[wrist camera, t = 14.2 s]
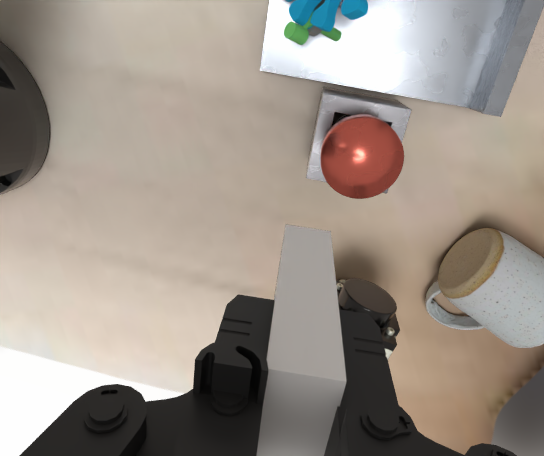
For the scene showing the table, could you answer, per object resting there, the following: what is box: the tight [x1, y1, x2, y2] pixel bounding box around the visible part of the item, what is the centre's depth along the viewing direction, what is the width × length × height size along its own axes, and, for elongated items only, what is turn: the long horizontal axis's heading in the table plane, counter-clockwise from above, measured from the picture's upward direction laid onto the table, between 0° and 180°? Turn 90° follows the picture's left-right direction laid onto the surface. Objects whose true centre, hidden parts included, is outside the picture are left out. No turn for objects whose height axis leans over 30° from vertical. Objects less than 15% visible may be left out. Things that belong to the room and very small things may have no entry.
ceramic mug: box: [426, 228, 544, 348], centre depth 35 cm, size 11×8×8 cm
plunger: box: [321, 114, 404, 199], centre depth 29 cm, size 5×5×9 cm
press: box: [260, 0, 544, 193], centre depth 24 cm, size 18×22×14 cm
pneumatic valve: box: [336, 278, 400, 360], centre depth 35 cm, size 6×12×12 cm, turn 161°
